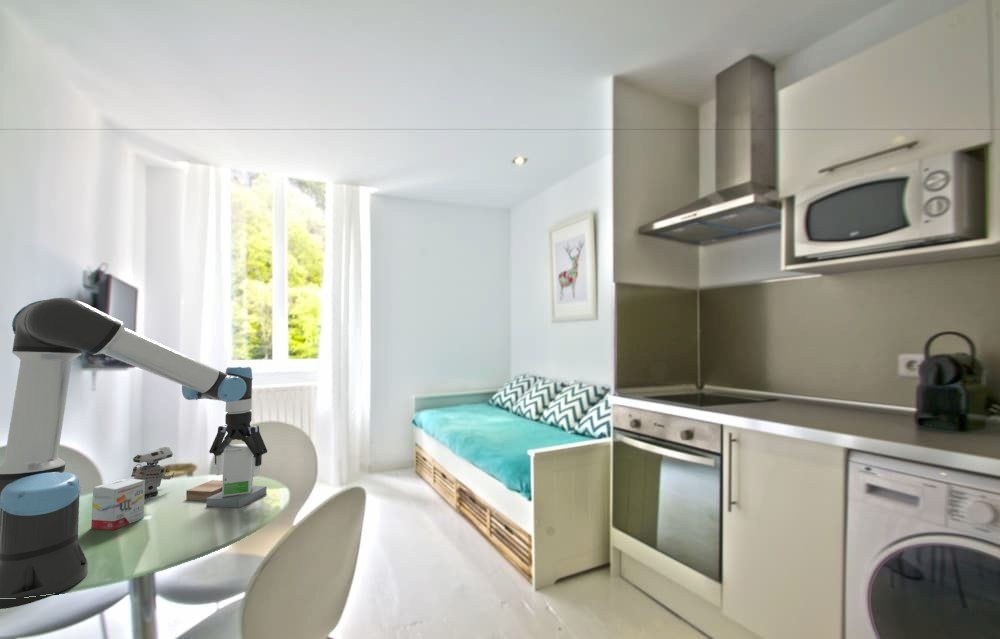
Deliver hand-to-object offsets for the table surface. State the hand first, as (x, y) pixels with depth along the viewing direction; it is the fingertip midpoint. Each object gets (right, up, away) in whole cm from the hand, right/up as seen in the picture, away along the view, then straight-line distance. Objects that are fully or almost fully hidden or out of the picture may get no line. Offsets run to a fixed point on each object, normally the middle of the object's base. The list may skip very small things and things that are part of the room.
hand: (237, 474), depth 137 cm
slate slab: (0, -8, 0) cm, 8 cm away
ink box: (-25, -8, -17) cm, 31 cm away
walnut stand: (-12, -9, +5) cm, 16 cm away
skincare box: (0, -6, 0) cm, 6 cm away
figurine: (-35, -9, +7) cm, 37 cm away
